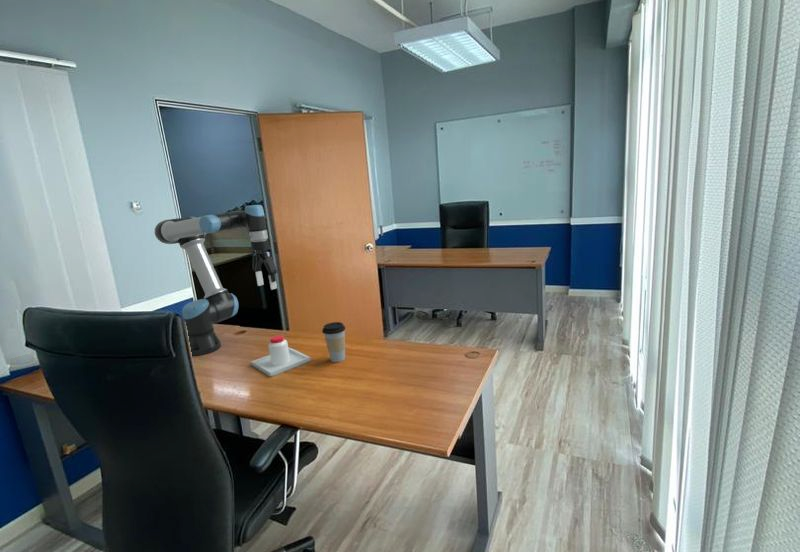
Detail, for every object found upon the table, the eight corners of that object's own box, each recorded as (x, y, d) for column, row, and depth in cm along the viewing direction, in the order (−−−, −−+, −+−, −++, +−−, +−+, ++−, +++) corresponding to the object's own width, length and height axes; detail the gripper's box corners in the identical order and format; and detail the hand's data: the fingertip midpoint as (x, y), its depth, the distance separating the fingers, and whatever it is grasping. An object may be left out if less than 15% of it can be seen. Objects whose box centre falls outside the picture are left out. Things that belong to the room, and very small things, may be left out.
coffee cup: (351, 354, 181) (347, 320, 177) (346, 363, 171) (341, 328, 168) (329, 355, 182) (325, 322, 178) (323, 364, 173) (318, 330, 169)
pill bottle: (287, 365, 174) (283, 340, 172) (268, 366, 174) (264, 341, 172) (292, 357, 182) (288, 333, 179) (274, 358, 182) (270, 334, 180)
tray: (252, 365, 179) (251, 361, 179) (290, 351, 191) (289, 347, 190) (271, 377, 166) (270, 372, 165) (311, 361, 177) (310, 357, 177)
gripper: (240, 240, 194) (248, 285, 199) (263, 243, 176) (271, 292, 180) (255, 238, 199) (263, 282, 203) (280, 240, 180) (287, 288, 185)
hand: (267, 287), depth 192 cm, fingers open, 13 cm apart
